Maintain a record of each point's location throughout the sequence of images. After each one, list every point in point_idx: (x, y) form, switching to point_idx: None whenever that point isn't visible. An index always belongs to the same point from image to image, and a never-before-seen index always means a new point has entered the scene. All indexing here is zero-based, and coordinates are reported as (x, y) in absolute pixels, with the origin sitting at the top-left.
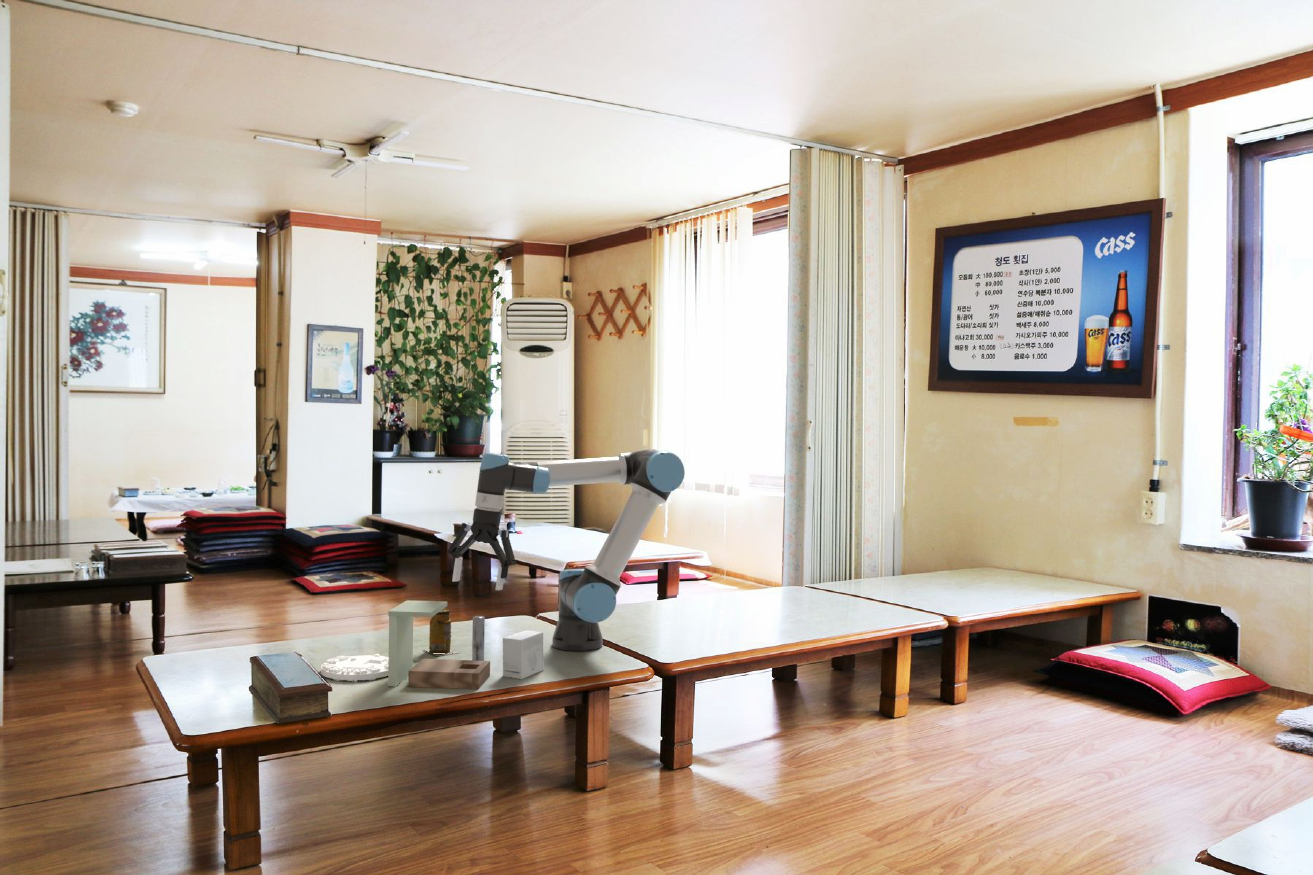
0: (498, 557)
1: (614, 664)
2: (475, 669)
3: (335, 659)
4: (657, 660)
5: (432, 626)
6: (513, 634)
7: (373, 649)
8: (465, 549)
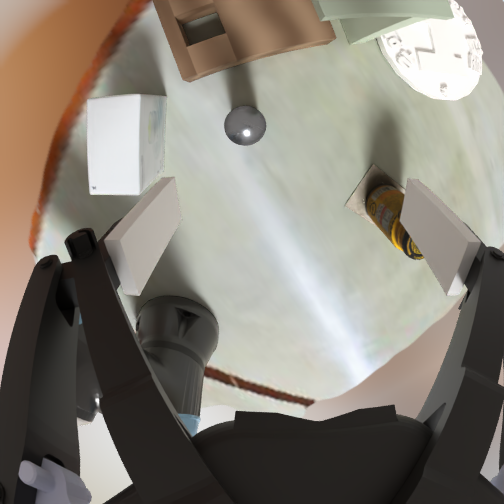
0: (104, 285)
1: (66, 256)
2: (174, 14)
3: (474, 48)
4: None
5: None
6: (136, 138)
7: (474, 174)
8: (461, 324)
